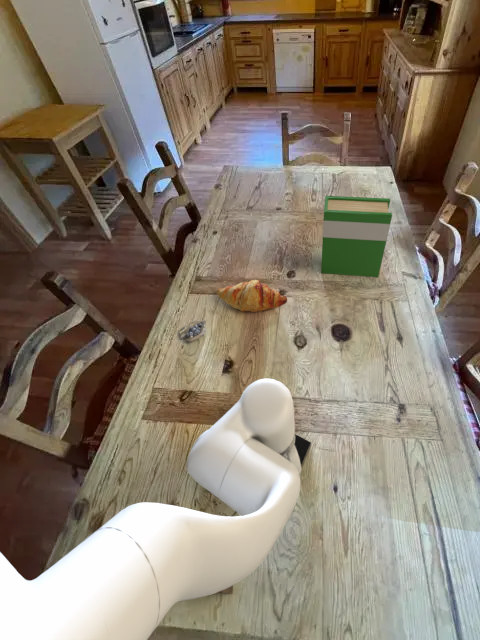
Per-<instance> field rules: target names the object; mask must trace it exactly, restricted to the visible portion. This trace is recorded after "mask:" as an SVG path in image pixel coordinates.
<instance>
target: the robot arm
mask: <svg viewBox="0 0 480 640" xmlns="http://www.w3.org/2000/svg"><path fill="white" fill-rule="evenodd" d="M294 407H295V405H294V399H293V396H292V394H291V392H290V389H288V387H287V386H286V385H285V384H283V383H282V382H281V381H279V380H277V379H274V378H260V379H257V380H255V381H253V382H251V383H250V384H249V385H248V386H247V387H246V388H244V390H243V392H242V394H241V396H240V398H239V400H238V401H237V402H236V403H235V404H234V405H233V406H232V407H231V408H230V409H229V410H228V411H227V412H225V414H223V415H222V416H221V417H220V418H219V419H218V420H216V422H215V423H214V424H213V425H211V426H210V427H209V428H208V429H207V430H205V431H203V432H202V433H201V434H200V435H199V436H198V437H197V439H196V440H195V442H194V443H193V445H192V446H191V448H190V452H189V454H188V457H187V461H186V471H187V473H188V474H189V476H190V478H191V479H192V480H194V481H195V482H196V483H197V484H198V485H200V486H201V487H202V488H204V489H205V490H207V491H208V492H209V493H210V494H212V495H213V496H214V497H216V498H217V499H219V500H220V501H221V502H222V503H224V504H226V505H227V506H228V507H230V508H231V509H232V510H234V511H235V512H236V513H237V514H239V515H238V516H235V515H234V516H228V515H227V516H225V515H217V514H212V513H208V512H203V511H200V510H196V509H192V508H187V507H182V506H178V505H173V504H166V503H161V502H147V501H143V502H136V503H134V504H131V505H130V504H129V505H128V506H126V507H124V508H123V509H122V510H120V511H118V512H117V513H116V514H115V515H114V516H113V517H112V518H110V519H109V520H108V521H107V522H105V523H104V524H103V525H102V526H101V527H99V528H98V529H97V530H95V531H93V533H91V534H90V535H89V536H88V537H86V538H85V539H84V540H83V541H82V542H80V543H79V544H78V545H76V547H74V548H73V549H71V550H70V551H69V552H67V554H65V555H64V556H63V557H61V558H60V559H59V560H58V561H56V562H55V563H54V564H52V566H50V567H49V568H48V569H46V570H45V571H44V572H43V573H41V574H40V575H38V576H37V577H36V578H34V579H32V580H29V579H26V578H25V577H23V576H22V575H21V574H20V573H19V572H18V571H17V569H16V568H15V567H14V566H13V564H11V562H10V561H9V560H8V559H7V558H6V557H5V555H4V554H3V553H2V552H1V551H0V640H148V639H149V638H150V637H151V635H153V633H154V631H155V630H156V629H157V628H158V626H159V625H160V623H161V622H162V620H163V619H164V618H165V617H166V615H167V614H168V613H169V611H170V610H171V609H172V607H174V605H175V604H177V603H178V602H182V601H190V600H194V599H200V598H204V597H208V596H211V595H214V594H218V593H217V592H219V591H222V590H224V589H227V588H229V587H231V586H233V587H234V586H235V585H237V584H238V583H240V582H242V581H243V580H245V579H246V578H247V577H249V576H251V574H253V573H254V572H255V571H256V570H257V569H258V568H259V567H260V566H261V565H262V564H263V562H265V560H266V558H267V557H268V555H269V554H270V553H271V551H272V549H273V547H274V546H275V544H276V543H277V541H278V539H279V537H280V535H281V534H282V532H283V530H284V529H285V526H286V525H287V524H288V521H289V520H290V518H291V516H292V514H293V512H294V509H295V507H296V505H297V503H298V500H299V496H300V492H301V485H302V483H301V475H300V474H301V473H302V469H301V463H300V459H299V456H298V453H297V450H296V447H295V445H294V443H295V434H296V425H295V424H296V423H295V408H294Z"/></svg>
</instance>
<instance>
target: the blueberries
mask: <svg viewBox="0 0 480 640" xmlns="http://www.w3.org/2000/svg"><path fill="white" fill-rule="evenodd" d="M206 333H207V327H206V321H205V320H204V319H196V320H195V321H193V322H192V324H191V323H189V325H185V326H184V327H183V328H180V330H179V334H178V335H179V337H180V340H183V341H187V343H189V344H190V343H191V344H192V343H193V342H194V341H197V340H198V339H199V338H201V337H203V336H204V335H205V334H206Z"/></svg>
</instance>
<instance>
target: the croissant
mask: <svg viewBox="0 0 480 640" xmlns="http://www.w3.org/2000/svg"><path fill="white" fill-rule="evenodd" d="M216 295H217V296H218V297H219V298H220V299H221V300H222V301H223V302H225V304H227V305H228V306H230V307H231V308H234V309H237V310H240V312H242V313H243V312H254V313H256V312H262V311H265V310H271V309H275V308H276V309H277V308H279V307H281V306H283V305H285V304H286V303H287V302H288V297H287V296H286V295H282V294H280V292H279V291H278V290H274V289H273V288H270V287H269V285H268V284H265V283H262V282H260V281H259V280H258V279H251V280H250V281H243V282H240V283H238V284H236V285H228V286H226V287H224V288H218V289H217V290H216Z"/></svg>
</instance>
